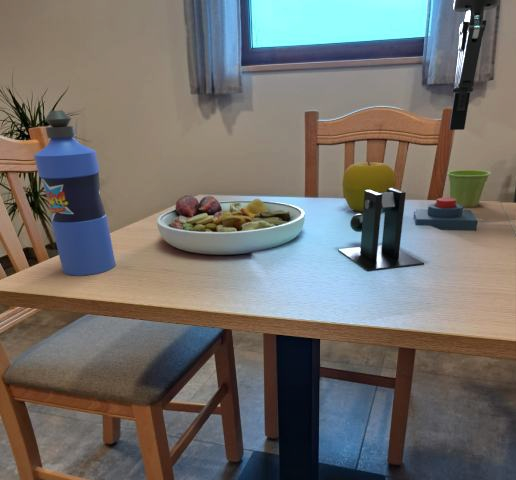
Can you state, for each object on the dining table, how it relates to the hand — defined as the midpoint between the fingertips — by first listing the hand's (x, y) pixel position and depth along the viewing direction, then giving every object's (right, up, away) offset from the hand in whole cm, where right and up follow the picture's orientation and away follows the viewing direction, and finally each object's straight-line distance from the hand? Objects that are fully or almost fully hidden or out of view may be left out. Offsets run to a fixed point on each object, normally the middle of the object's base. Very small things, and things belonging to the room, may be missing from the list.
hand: (456, 129), depth 92 cm
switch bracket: (-19, -29, -13) cm, 37 cm away
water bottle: (-70, -29, -10) cm, 76 cm away
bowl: (-45, -21, +4) cm, 50 cm away
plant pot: (+11, -10, +21) cm, 26 cm away
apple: (-12, -9, +25) cm, 29 cm away
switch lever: (-20, -22, -13) cm, 32 cm away
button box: (+1, -17, +9) cm, 19 cm away
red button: (+1, -14, +7) cm, 15 cm away
